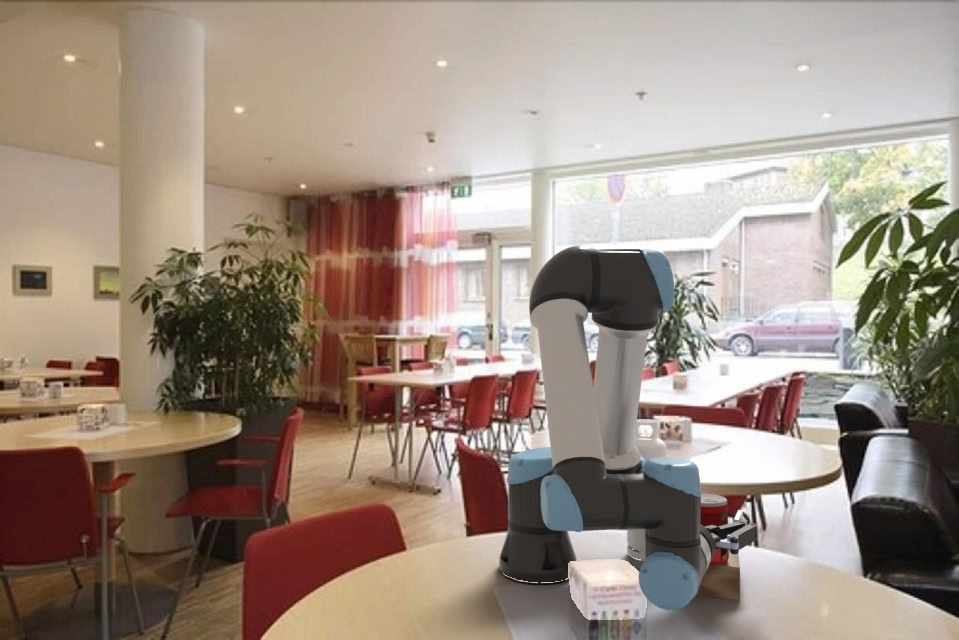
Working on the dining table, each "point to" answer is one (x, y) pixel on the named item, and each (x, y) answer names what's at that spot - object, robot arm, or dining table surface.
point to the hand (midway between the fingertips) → (708, 513)
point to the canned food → (715, 521)
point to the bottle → (648, 449)
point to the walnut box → (722, 580)
